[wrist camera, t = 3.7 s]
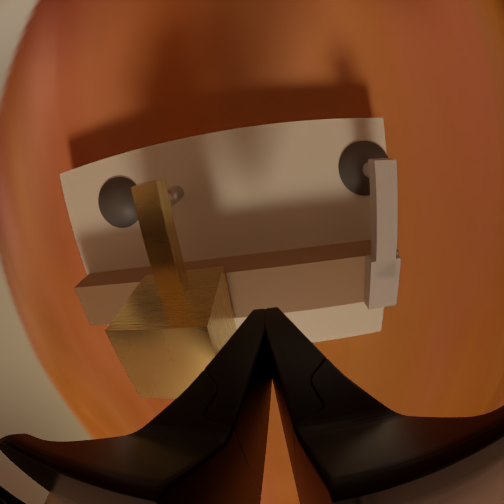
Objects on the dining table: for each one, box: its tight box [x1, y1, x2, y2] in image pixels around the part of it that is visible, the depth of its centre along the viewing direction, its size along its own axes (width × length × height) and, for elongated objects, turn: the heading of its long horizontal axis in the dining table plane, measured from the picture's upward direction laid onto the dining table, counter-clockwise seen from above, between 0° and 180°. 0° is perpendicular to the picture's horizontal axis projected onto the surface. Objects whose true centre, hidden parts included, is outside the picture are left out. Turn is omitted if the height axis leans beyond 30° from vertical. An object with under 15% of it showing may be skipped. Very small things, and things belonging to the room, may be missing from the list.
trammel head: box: [105, 178, 237, 399], centre depth 9 cm, size 3×6×5 cm, turn 8°
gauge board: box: [60, 118, 401, 342], centre depth 11 cm, size 14×10×3 cm
